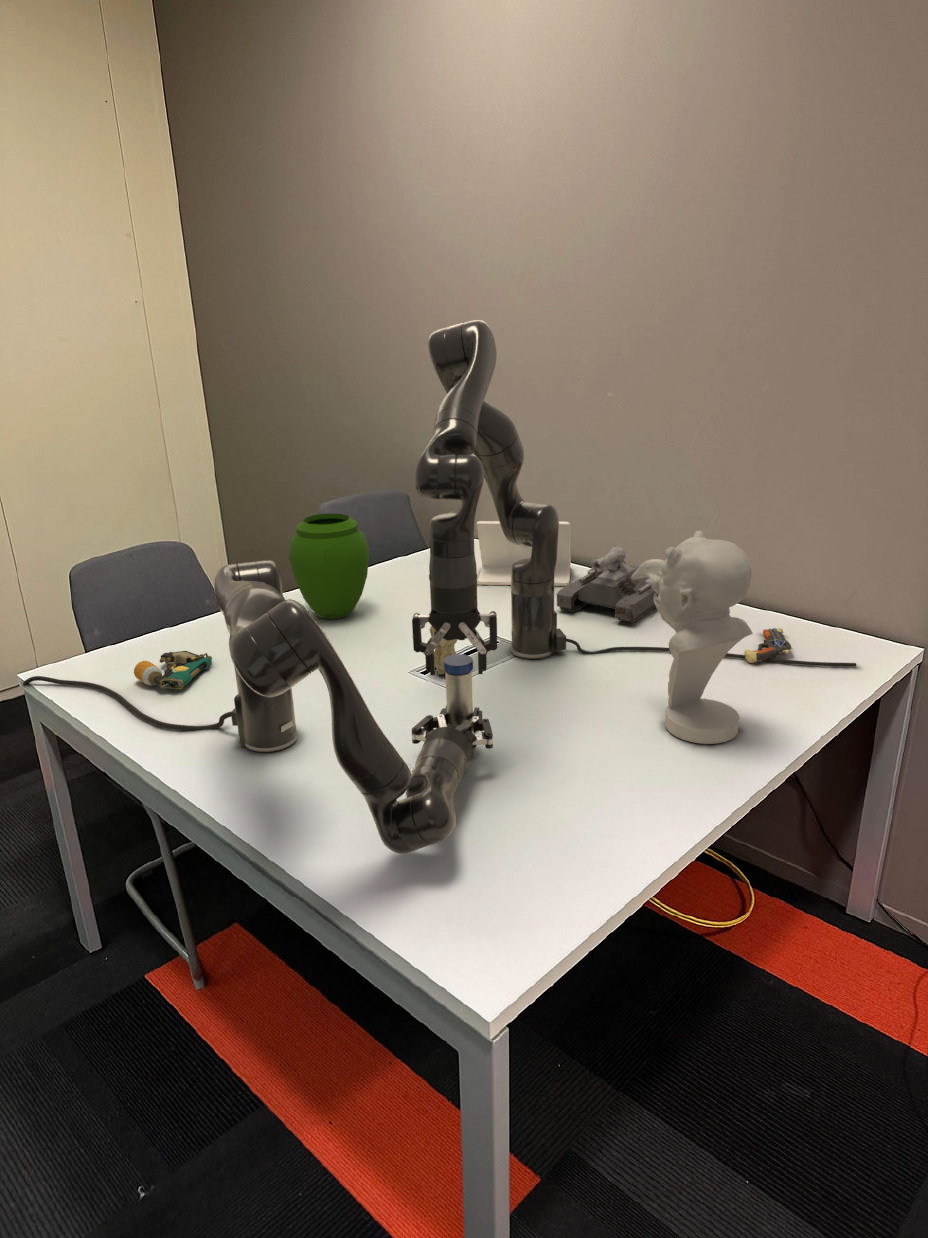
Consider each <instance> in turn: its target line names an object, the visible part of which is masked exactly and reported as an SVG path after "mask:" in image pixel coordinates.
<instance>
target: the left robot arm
mask: <svg viewBox="0 0 928 1238" xmlns="http://www.w3.org/2000/svg"><path fill="white" fill-rule="evenodd" d="M283 592H284V591H283V581H282V575H281V571H280V568H279V566H278V564H277V563H276V562H275V561H274V560H272V559H263V560H253V561H246V562H237V563H229V564H225V565H224V566H221V567H220V568H219V569H218V570H217V572H216V575H215V578H214V595H215V600H216V604H217V606H218V609H219V611H220V612H221V614H222V615H223V617H224V622H225V625H226V629H227V632H228V634H229V639H228V650H229V654H230V655H229V656H230V658H231V661H232V664H233V666H234V673H235V674H234V675H235V681H236V687H237V694H236V695H235V696H234V698H233V703H234V708H233V709H232V710H231V711H228V712H225V713H223V714H222V715H220V716H219V718H218V722H217V723H213V724H208V725H187V724H176V723H169V722H164V721H161V720H158V719H155V718H153V717H152V716H149V715H147V714H145V713H143V712H142V711H141V710H139V709H138V708H137V707H136V706H135V705H133V704H132V703H130V702H129V701H128V700H127V699H126V698H125V697H124V696H122V695H121V694H119V693H118V692H116V691H114V690H113V689H111V688H108V687H106V686H104V685H101V684H98V683H93V682H89V681H80V680H69V679H68V680H67V679H58V678H54V677H50V676H42V675H35V676H31V677H28V678H26V679H25V680H24V681H23V683H22V686H28V685H29V684H30V683H32V682H37V681H39V682H47V683H52V684H56V685H63V686H75V687H86V688H92V689H95V690H98V691H102V692H104V693H106V694H108V695H110V696H112V697H113V698H115V699H116V700H118V701H119V702H120V703H121V704H122V705H124V706H125V707H126V708H127V709H128V710H130V711H131V712H132V713H133V714H134V715H136V716H137V717H139V718H140V719H142V720H144V721H146V722H148V723H150V724H152V725H155V726H158V727H161V728H164V729H169V730H177V731H188V732H190V731H191V732H196V731H198V732H199V731H208V730H209V731H210V730H217V729H220V728H221V727H223V725H225V720H226V719H229V718H231V724H232V726H233V727H237V733H238V739H239V746H240V747H243V748H244V747H245V748H246V749H247V750H249V751H251V752H256V753H273V752H277V751H282V750H284V749H287V748H289V747H291V746H292V745H293V744H295V742H296V741H297V740H298V731H297V723H296V714H295V713H296V712H295V705H294V697H293V687H295V686H296V685H297V684H298V683H300V682H302V681H303V680H304V679H306V678H307V677H308V676H310V675H312V673H314V672H316V671H317V670H318V671H319V673H320V674H321V676H322V679H323V680H324V682H325V685H326V688H327V691H328V696H329V703H330V714H331V736H332V745H333V751H334V755H335V757H336V760H337V763H338V764H339V766H340V768H341V769H342V770H343V772H344V773H345V775H346V776H347V778H349V780H350V781H351V782H352V784H353V785H354V786H355V788H356V789H357V790H358V791H359V792H360V794H361V795H362V796H363V798H364V799H365V802H366V804H367V807H368V808H369V811H370V814H371V816H372V819H373V821H374V823H375V827H376V830H377V833H378V835H379V838H380V840H381V842H382V844H383V845H384V846H385V847H386V848H387V849H389V850H390V851H392V852H393V853H396V854H399V855H404V854H405V855H406V854H410V853H413V852H415V851H418V850H420V849H424V848H426V847H429V846H431V845H435V844H437V843H440V842H442V841H445V840H446V839H447V838H449V837H450V836H451V835H452V833H453V832H454V830H455V828H456V825H457V818H456V816H457V815H456V810H455V798H454V797H455V794H456V791H457V788H458V785H459V784H460V783H461V781H462V779H463V777H464V775H465V773H466V770H467V766H468V763H469V760H470V758H471V757H470V755H471V751H472V750H473V749H474V750H475V749H476V748H477V746H484V747H485V749H487V750H492V749H493V748H494V735H493V734H494V733H493V730H492V727H491V723H490V719H489V718H483V711H482V710H481V709H480V707H477V706H476V707H474V708H473V714H472V718H471V719H470V720H465V721H464V722H463V723H462V724H461V725H458V726H454V725H448V724H447V705H445V707H443V708H441V710H440V712H439V713H438V714H437V715H436V716H435V717H434V716H433V715H431V714H428V715H426V716H425V717H423V718H422V719H421V720H420V721H419V722H418V723H416V725H414V726H413V727H412V728H411V743H412V744H413V745H416V744H417V745H418V744H419V743H421V742H423V744H422V746H421V747H420V748H421V749H420V750H419V753H418V754H417V756H416V759H415V763H414V767H413V769H412V771H411V769H410V768H409V765H408V764H407V763H406V762H405V760H404V758H403V757H402V756H401V755H400V753H399V752H398V751H397V750H396V747H394V745H393V744H392V742H391V741H390V740H389V738H388V737H387V736H386V734H385V733H384V731H383V730H382V728H381V727H380V726H379V724H378V722H377V721H376V719H375V718H374V716H373V714H372V712H371V711H370V709H369V707H368V705H367V704H366V702H365V700H364V697H363V696H362V694H361V692H360V691H359V689H358V686H357V685H356V683H355V682H354V680H353V677H352V676H351V674H350V673H349V671H348V670H347V668H346V666H345V664H344V663H343V661H342V659H341V658H340V656H339V654H338V653H337V651H336V649H335V647H334V646H333V644H332V643H331V641H330V639H329V638H328V636H327V634H326V632H324V630H323V628H322V627H321V626H320V625H319V623H318V621H316V619H315V618H314V617H313V616H312V614H311V613H310V612H309V610H307V609H306V608H305V607H304V606H303V605H302V604H301V603H300V602H299V601H297V600H294V599H290V598H289V599H286V598H285V596H284V594H283ZM479 732H481V733H480V734H479V736H476V735H477V734H478V733H479ZM404 794H405V796H406V797H405V798H403V799H401V800H398V799H399V798H401V797H402V796H403V795H404Z"/></svg>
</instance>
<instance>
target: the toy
mask: <svg viewBox="0 0 928 1238" xmlns="http://www.w3.org/2000/svg"><path fill="white" fill-rule="evenodd" d="M626 557H627V556H626V551H625V549H624V548H622V547H621V546H614V547H612V548H611V549H610V550H609V552H608V553H607V554H605V555H604V556H601V557H599V558H598V559H597V557H596V558H594V559H593V560H592V561H590V562H589V563H590V564H591V565H592V567H591V568H590V569H589V570H587V573H586V575H584V576H582V577H580V578H578V579H577V580H575V581H573V582H570V583H569V585H567V586H563V587H562V588H560V589H559V590H558V591H557V592H556V607H558V608H559V609H560V610H562V611H566V612H572V613H575V612H577V611H579V610H581V609H582V608H585V607H586V606H588V605H592V606H598V607H602V608H603V607H604V608H609V609H613V610H614V618H615V619H617V620H618V621H621V622H626V623H631V624H634V623H635V622H637V621H638V620H640V619H641V618H642V617H644V616H645V615H647V614H648V613H650V612H651V611H652V610H654V609H655V608H656V605H655V604H654V600H653V597H654V594H655V593H656V592H655V591H654V590H653V589H652V587H651V583H650V579H649V578H647V577H644V578H640V579H635V580H634V579H632V578H631V576H632V575H633V574H634V573H635V571H636V570H637V569H638V568H639V566H635V565H629V564H628V563H627V562H626V561H625V559H626Z"/></svg>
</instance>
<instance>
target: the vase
mask: <svg viewBox="0 0 928 1238" xmlns="http://www.w3.org/2000/svg"><path fill="white" fill-rule="evenodd" d="M358 524H359V523H358V521H356V520H355V519H353V518H352V517H350V516H349V515H347V514H344V513H335V512H334V513H333V512H331V513H320V514H313V515H310V516H307V517H305V518H303V519H302V520H301V521H300V522H299V523H298V524H297V525H296V526H295V532H296V533H295V534H294V536H293V537H292V538H291V540H290V542H289V551H288V559H289V564H290V566H291V567H290V568H291V570H292V575H293V578H294V581H295V584H296V586H297V587H298V589H299V591H300V593H301V596H302V597H303V600H304V601H305V603H306V604H307V605H308V607H309V608H310V609H311V611H312V612H314V613H315V614H316V615H317V616H318V617H320V618H324V619H326V620H327V619H329V620H336V619H341V618H345V617H347V616H349V615H350V614H351V613H352V612H353V611H354V610H355V608H356V607H357V605H358V604H359V601H360V599H361V597H362V595H363V592H364V588H365V586H366V581H367V578H368V570H369V561H370V560H369V559H370V548H369V545H368V541H367V537H366V535H365V534H364V533H363V532H362V531H361V530H360V529H359V527H358Z"/></svg>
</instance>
